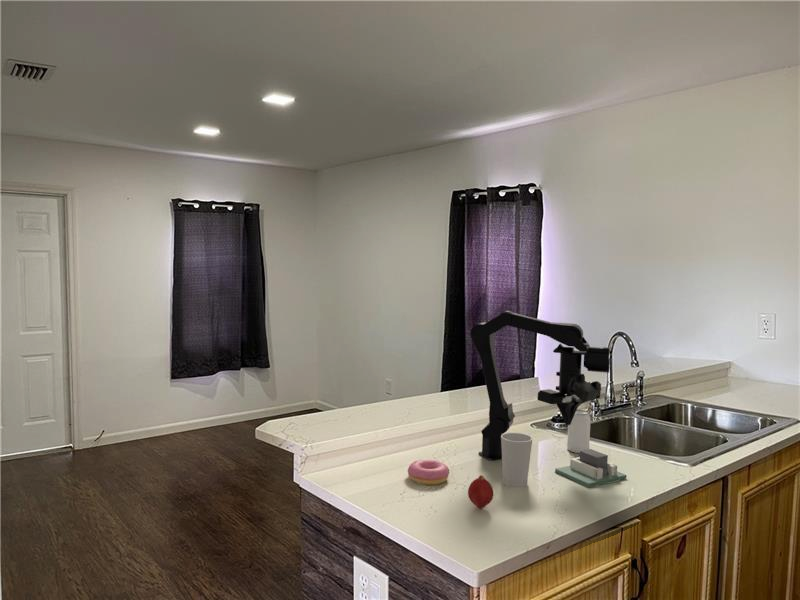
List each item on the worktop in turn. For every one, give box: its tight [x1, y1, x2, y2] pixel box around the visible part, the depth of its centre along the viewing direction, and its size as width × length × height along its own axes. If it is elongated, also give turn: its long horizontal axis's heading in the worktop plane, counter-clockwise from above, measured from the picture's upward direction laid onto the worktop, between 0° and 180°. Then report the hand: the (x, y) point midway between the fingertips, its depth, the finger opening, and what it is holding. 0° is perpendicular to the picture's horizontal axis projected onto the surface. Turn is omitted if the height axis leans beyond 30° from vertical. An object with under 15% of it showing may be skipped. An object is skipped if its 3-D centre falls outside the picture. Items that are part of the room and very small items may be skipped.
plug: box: [579, 448, 609, 477], centre depth 160 cm, size 4×7×5 cm, turn 30°
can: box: [566, 409, 591, 454], centre depth 181 cm, size 6×6×12 cm
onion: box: [467, 474, 494, 510], centre depth 136 cm, size 6×6×8 cm
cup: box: [501, 432, 533, 488], centre depth 153 cm, size 8×8×12 cm
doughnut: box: [407, 459, 450, 486], centre depth 155 cm, size 11×11×4 cm
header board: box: [554, 456, 627, 488], centre depth 160 cm, size 14×12×4 cm
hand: (567, 424), depth 165 cm, fingers closed
